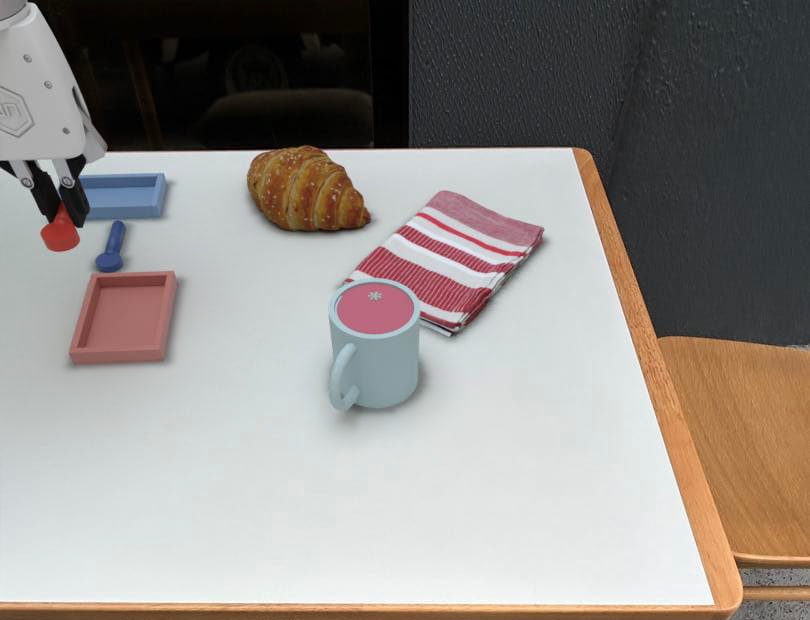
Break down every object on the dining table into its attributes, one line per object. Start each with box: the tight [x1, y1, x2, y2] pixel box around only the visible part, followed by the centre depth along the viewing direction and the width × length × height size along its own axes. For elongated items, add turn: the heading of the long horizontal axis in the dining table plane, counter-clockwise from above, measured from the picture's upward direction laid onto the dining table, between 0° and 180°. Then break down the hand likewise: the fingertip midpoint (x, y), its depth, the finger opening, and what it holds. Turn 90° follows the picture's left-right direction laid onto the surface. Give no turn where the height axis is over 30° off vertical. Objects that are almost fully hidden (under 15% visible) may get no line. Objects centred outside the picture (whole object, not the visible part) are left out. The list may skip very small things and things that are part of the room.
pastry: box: [246, 144, 371, 232], centre depth 89 cm, size 21×13×8 cm, turn 53°
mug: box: [327, 278, 421, 412], centre depth 70 cm, size 14×9×10 cm
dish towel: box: [341, 189, 545, 338], centre depth 85 cm, size 17×23×3 cm
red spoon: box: [40, 186, 84, 253], centre depth 65 cm, size 10×3×2 cm, turn 3°
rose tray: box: [68, 270, 179, 365], centre depth 79 cm, size 14×10×2 cm
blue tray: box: [56, 172, 168, 221], centre depth 92 cm, size 14×8×2 cm, turn 94°
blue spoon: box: [94, 219, 126, 273], centre depth 86 cm, size 10×3×2 cm, turn 4°
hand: (70, 219), depth 66 cm, fingers closed on red spoon, 1 cm apart
